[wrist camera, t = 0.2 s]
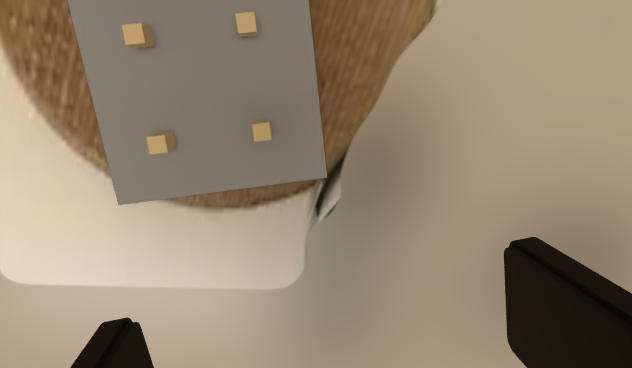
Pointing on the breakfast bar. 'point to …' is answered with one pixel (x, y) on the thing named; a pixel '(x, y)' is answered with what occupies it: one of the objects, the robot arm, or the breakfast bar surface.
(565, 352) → the robot arm
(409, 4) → the breakfast bar surface
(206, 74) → the base board
